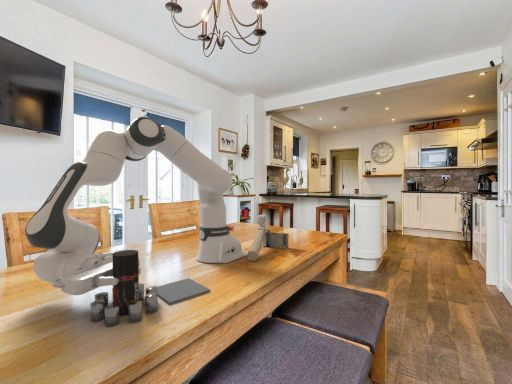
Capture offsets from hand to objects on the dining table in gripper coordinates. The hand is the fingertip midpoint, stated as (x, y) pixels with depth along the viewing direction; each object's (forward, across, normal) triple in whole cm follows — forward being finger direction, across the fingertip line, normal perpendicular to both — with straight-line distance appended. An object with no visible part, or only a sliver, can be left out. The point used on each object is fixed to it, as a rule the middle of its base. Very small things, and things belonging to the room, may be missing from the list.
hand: (128, 276), depth 68 cm
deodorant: (-1, 0, +9) cm, 9 cm away
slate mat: (+5, +15, +9) cm, 18 cm away
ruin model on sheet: (+22, +77, +10) cm, 81 cm away
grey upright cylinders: (-1, 0, +9) cm, 9 cm away
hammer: (+16, +64, +9) cm, 67 cm away
